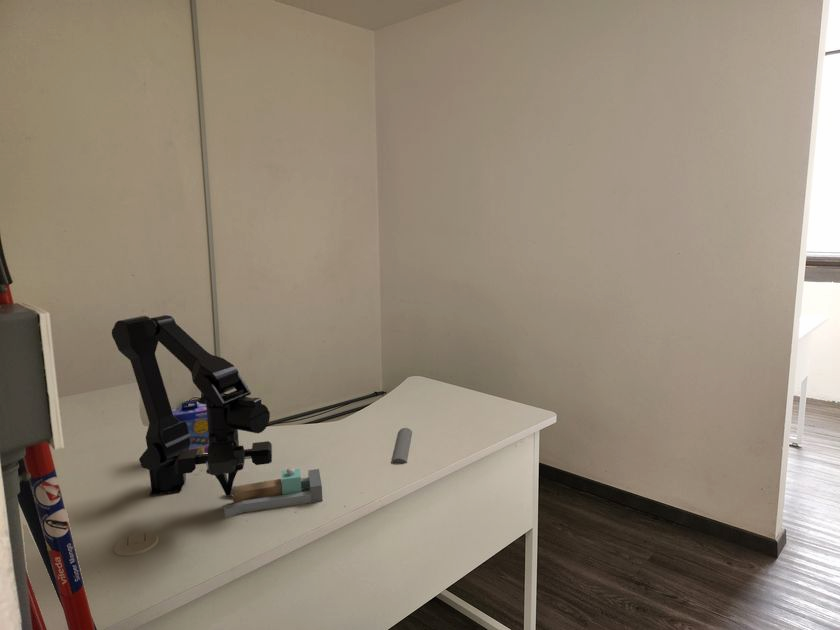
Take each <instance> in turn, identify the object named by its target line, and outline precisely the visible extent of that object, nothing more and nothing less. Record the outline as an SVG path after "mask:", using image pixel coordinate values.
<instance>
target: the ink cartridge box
mask: <svg viewBox="0 0 840 630" xmlns="http://www.w3.org/2000/svg"><path fill="white" fill-rule="evenodd" d="M171 409H172V412H173V415H174V416H175V417H176V418H177V419H178V420H179V421H181V422H182V421H185V422H186V423H187V427H188V431H189V434H190V435H191V438H190V441H191V445H190V446H189V450H193V449H199V452H200V454H203V453H208V452H207V450H208V446H209V433H208V422H207V410H206V404H201V403H198V400H193V401H186V402H182V403H181V407H176V408H171Z"/></svg>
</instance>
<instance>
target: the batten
mask: <svg viewBox="0 0 840 630" xmlns="http://www.w3.org/2000/svg"><path fill="white" fill-rule="evenodd" d="M233 486H234V487H233V496H232V501H233V504H235V503H239V502H242V501H244V500H251V499H258V498H265V497H272V496H279V495H283V494H282V483H281V478H277V479H276V478H275V479H271V480H264V481H259V482H253V483H247V484H240V485H233Z"/></svg>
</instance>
